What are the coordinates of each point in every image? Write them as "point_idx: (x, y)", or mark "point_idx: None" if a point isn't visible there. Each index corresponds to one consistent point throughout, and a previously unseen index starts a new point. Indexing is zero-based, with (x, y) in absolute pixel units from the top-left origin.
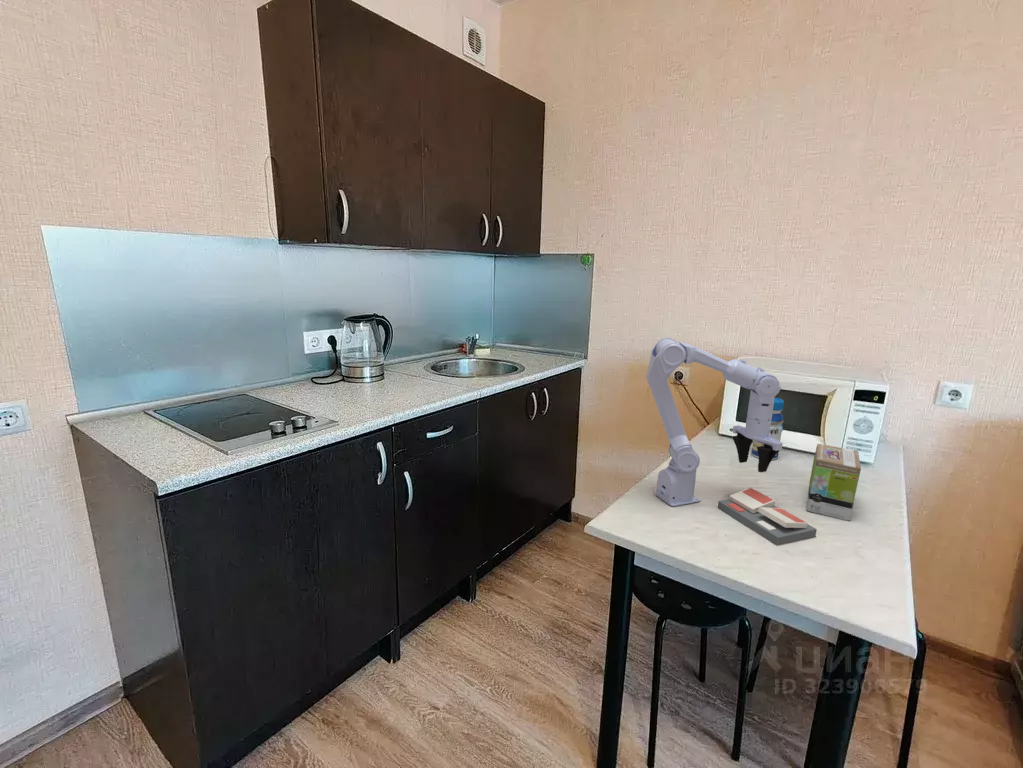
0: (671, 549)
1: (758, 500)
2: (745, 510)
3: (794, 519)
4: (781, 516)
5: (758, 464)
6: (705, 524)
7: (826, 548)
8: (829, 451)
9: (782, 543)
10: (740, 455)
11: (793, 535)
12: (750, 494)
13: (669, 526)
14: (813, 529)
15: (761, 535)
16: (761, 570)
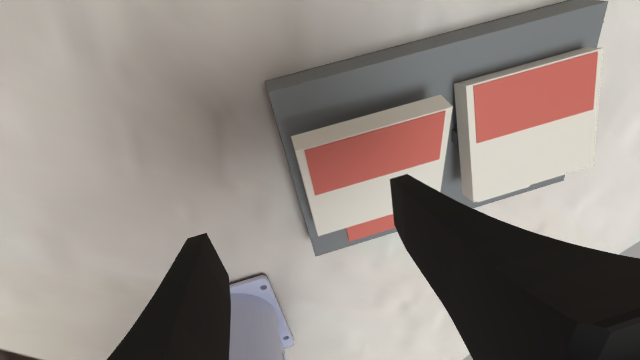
0: (458, 354)
1: (409, 165)
2: None
3: (573, 100)
4: (547, 149)
5: (426, 275)
6: (394, 289)
7: (633, 16)
8: None
9: None
10: (227, 337)
11: None
12: (352, 174)
13: (383, 350)
14: (601, 19)
15: None
16: (582, 243)
